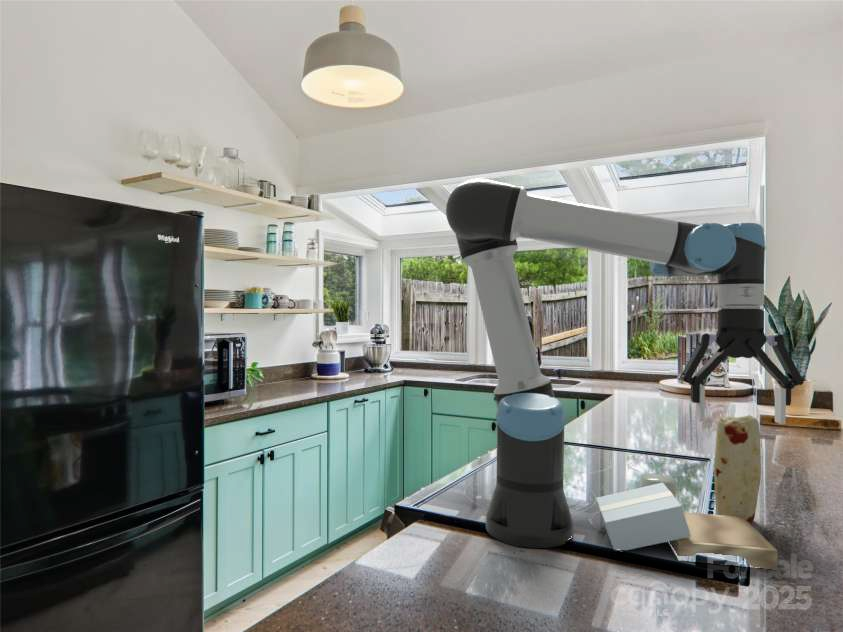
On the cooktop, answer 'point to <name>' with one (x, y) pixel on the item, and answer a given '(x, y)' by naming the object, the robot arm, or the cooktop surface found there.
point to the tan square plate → (726, 539)
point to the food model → (737, 467)
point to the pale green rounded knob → (658, 481)
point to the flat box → (642, 517)
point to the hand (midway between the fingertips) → (739, 421)
